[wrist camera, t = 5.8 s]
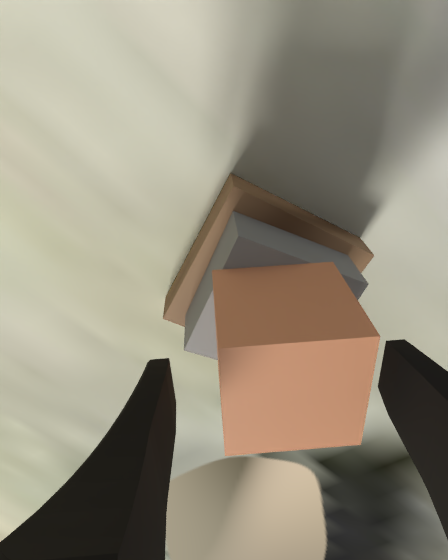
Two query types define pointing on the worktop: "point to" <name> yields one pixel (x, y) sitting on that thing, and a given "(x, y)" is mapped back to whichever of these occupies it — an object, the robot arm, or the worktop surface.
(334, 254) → the grey slab
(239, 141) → the worktop surface
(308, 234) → the walnut slab
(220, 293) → the terracotta cube
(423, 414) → the robot arm
